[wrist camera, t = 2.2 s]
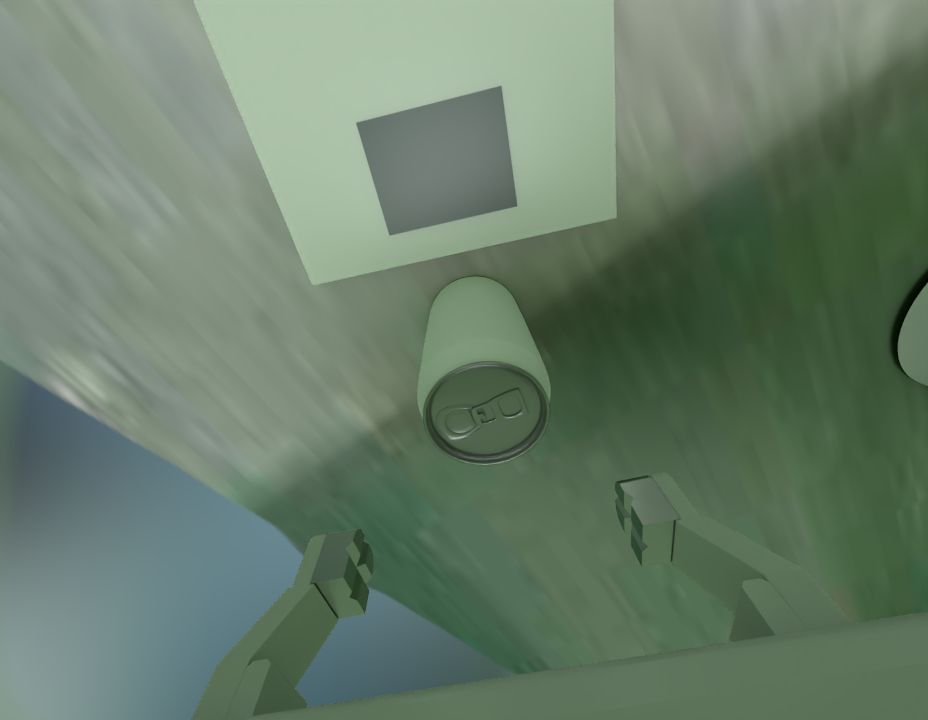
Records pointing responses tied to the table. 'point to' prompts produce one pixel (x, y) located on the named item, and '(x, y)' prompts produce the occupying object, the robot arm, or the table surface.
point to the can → (481, 376)
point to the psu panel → (423, 121)
